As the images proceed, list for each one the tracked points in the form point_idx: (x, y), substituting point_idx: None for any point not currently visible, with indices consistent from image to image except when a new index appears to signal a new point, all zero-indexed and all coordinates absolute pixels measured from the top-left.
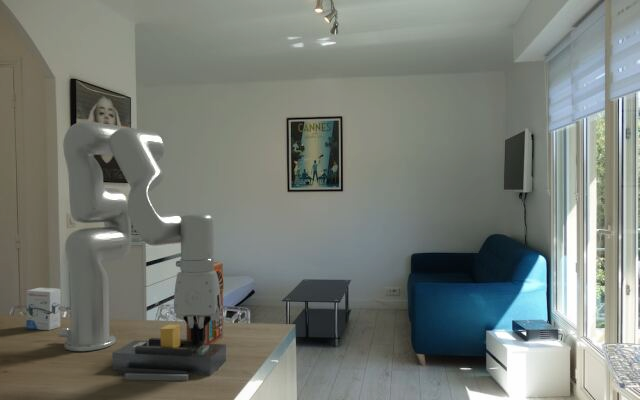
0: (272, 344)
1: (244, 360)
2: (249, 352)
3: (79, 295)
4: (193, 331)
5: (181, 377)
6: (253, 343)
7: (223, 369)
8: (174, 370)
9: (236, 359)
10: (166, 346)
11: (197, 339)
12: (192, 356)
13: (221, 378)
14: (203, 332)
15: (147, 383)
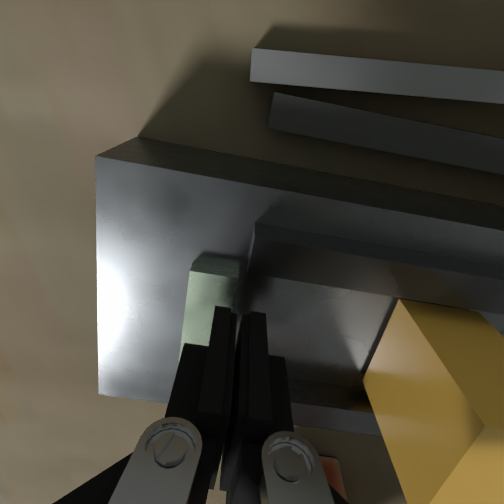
0: (9, 480)
1: (45, 334)
2: (64, 414)
3: None
4: (258, 393)
5: (287, 52)
6: None
7: None
8: (347, 141)
9: (88, 346)
10: (453, 320)
11: (222, 334)
12: (241, 190)
13: (57, 85)
14: (170, 399)
15: (489, 7)
